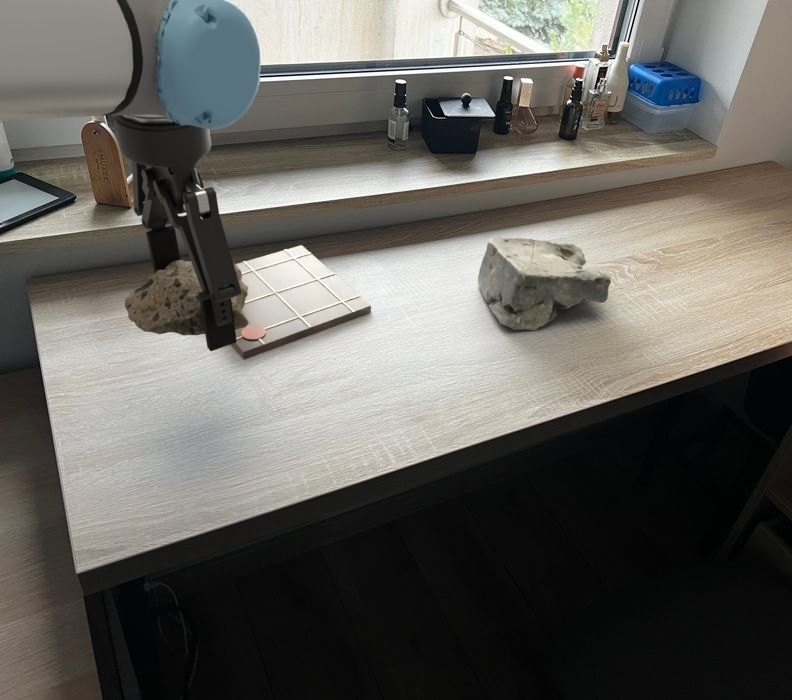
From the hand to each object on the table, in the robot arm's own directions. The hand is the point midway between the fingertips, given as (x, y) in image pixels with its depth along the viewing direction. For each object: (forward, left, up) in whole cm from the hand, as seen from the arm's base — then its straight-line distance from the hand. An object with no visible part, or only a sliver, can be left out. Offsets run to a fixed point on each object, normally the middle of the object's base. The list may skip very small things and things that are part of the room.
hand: (195, 312), depth 75 cm
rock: (0, 0, 0) cm, 1 cm away
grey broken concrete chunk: (+52, -2, -17) cm, 55 cm away
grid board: (+18, +19, -17) cm, 32 cm away
